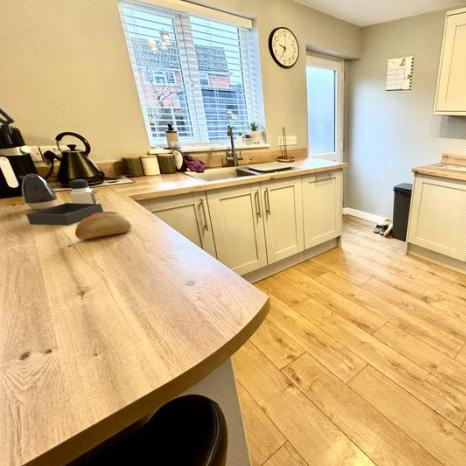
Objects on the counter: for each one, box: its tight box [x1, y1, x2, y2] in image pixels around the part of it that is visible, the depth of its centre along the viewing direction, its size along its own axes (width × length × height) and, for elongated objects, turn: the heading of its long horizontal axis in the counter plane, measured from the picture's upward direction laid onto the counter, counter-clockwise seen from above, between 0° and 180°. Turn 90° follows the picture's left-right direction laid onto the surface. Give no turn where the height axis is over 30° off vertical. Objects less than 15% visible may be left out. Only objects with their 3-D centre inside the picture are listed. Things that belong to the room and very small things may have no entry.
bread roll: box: [74, 211, 132, 240], centre depth 99 cm, size 10×15×8 cm, turn 137°
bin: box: [25, 202, 104, 226], centre depth 116 cm, size 16×16×4 cm
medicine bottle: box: [68, 179, 98, 204], centre depth 129 cm, size 7×7×12 cm
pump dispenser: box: [19, 173, 58, 211], centre depth 126 cm, size 10×10×15 cm
